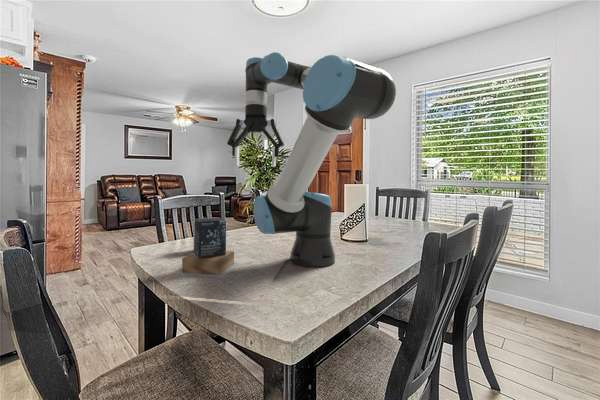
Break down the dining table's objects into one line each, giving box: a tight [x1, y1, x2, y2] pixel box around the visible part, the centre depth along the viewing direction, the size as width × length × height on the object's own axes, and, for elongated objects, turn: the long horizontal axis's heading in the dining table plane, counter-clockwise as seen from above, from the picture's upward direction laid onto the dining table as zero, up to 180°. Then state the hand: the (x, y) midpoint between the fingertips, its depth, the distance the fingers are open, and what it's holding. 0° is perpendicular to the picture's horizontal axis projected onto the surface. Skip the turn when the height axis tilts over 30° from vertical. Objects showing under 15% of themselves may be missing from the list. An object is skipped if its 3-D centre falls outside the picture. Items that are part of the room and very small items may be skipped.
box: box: [193, 217, 227, 258], centre depth 87 cm, size 8×6×11 cm
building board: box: [174, 262, 241, 278], centre depth 88 cm, size 14×14×1 cm
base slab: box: [181, 250, 235, 275], centre depth 87 cm, size 11×11×4 cm
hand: (255, 166), depth 106 cm, fingers open, 13 cm apart
